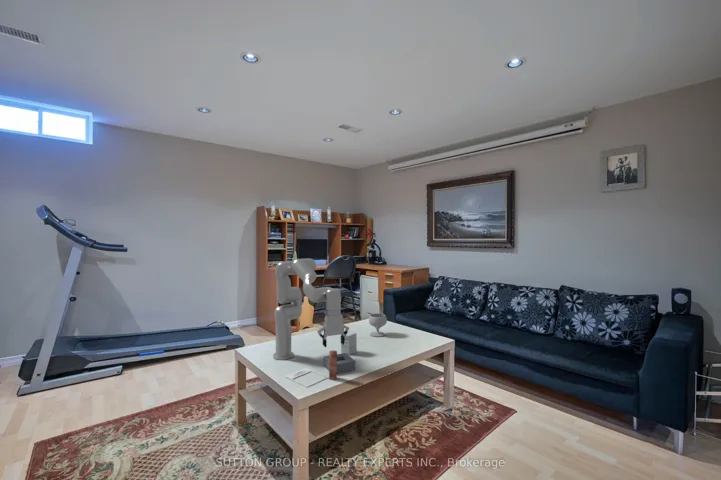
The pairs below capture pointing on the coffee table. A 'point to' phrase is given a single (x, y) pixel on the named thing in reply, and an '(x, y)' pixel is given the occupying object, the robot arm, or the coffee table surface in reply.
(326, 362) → the socket block
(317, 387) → the coffee table surface
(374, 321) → the chalice
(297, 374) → the photo frame
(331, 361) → the peg
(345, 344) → the supplement box
